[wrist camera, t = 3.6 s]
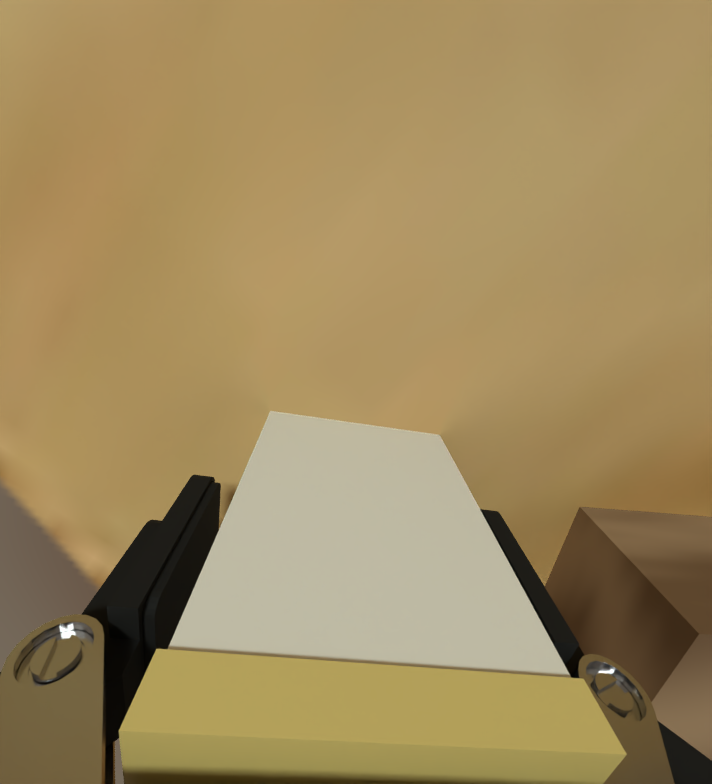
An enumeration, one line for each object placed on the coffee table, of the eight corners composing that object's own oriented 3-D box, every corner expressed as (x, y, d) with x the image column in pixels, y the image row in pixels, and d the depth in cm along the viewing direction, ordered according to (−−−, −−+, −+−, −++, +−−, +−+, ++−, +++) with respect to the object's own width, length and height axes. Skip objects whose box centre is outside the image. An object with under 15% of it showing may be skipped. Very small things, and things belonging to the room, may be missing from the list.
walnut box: (574, 500, 13) (699, 633, 9) (852, 522, 14) (1098, 652, 10) (490, 696, 18) (544, 855, 13) (709, 702, 19) (831, 852, 14)
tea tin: (267, 407, 11) (119, 730, 4) (442, 432, 12) (626, 754, 4) (253, 546, 13) (141, 936, 6) (404, 562, 14) (480, 933, 6)
